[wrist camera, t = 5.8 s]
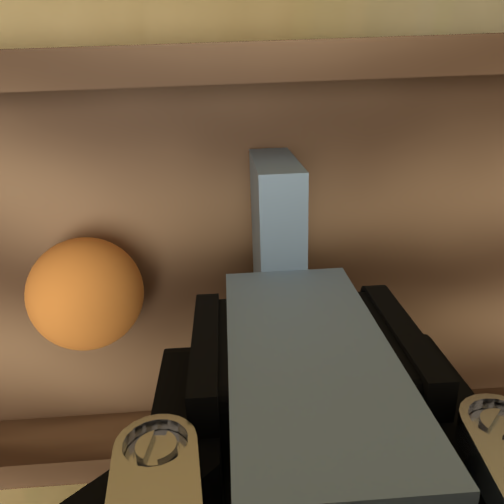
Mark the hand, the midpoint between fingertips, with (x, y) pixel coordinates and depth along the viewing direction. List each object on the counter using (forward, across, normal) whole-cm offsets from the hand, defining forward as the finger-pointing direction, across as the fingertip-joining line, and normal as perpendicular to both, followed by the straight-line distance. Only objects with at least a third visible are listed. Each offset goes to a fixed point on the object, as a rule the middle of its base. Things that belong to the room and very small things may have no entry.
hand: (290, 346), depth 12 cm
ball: (+6, +6, 0) cm, 8 cm away
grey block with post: (+5, 0, 0) cm, 5 cm away
